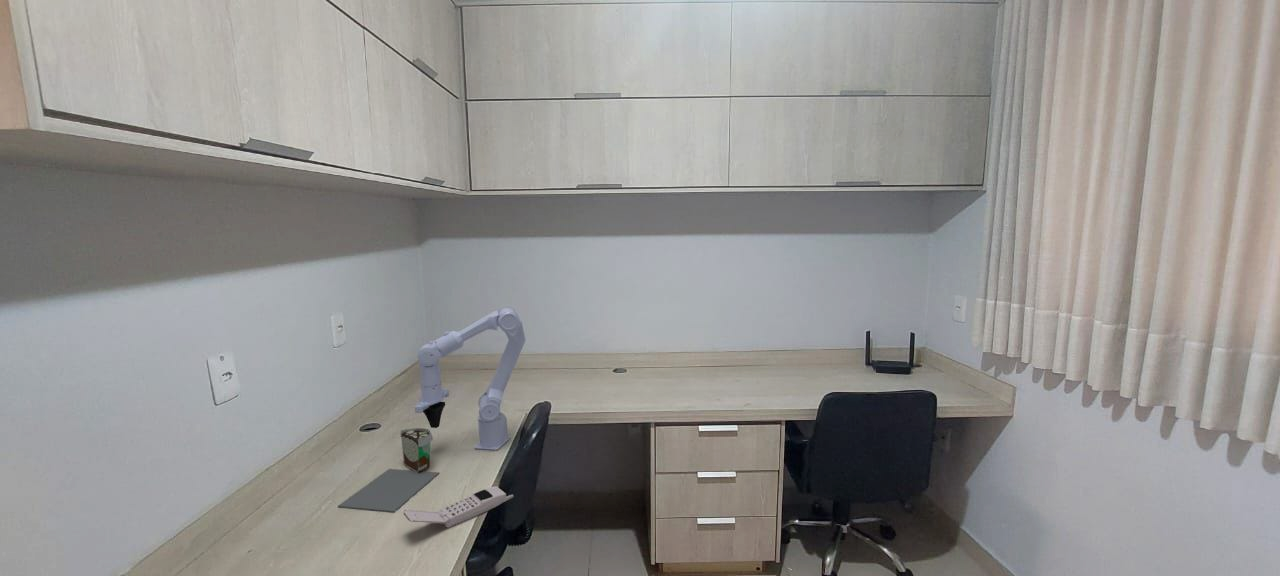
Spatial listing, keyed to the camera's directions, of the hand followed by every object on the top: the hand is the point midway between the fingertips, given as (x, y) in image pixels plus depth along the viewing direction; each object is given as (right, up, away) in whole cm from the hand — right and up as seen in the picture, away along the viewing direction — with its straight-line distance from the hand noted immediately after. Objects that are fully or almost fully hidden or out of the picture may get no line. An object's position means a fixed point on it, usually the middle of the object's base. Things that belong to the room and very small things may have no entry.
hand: (435, 426), depth 152 cm
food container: (-1, -10, -7) cm, 12 cm away
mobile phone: (+20, -13, -32) cm, 40 cm away
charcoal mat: (-4, -11, -19) cm, 23 cm away
